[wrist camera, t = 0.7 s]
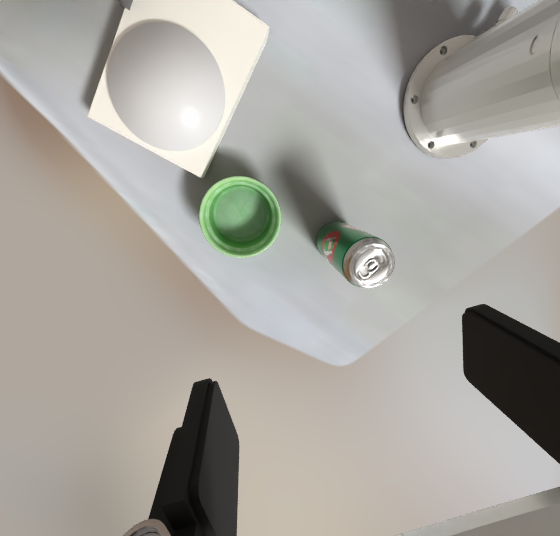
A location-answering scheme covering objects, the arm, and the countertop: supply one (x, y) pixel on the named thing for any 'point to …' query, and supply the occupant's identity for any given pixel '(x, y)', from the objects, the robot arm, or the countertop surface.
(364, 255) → the soda can
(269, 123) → the countertop surface
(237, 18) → the scale
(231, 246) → the ramekin
